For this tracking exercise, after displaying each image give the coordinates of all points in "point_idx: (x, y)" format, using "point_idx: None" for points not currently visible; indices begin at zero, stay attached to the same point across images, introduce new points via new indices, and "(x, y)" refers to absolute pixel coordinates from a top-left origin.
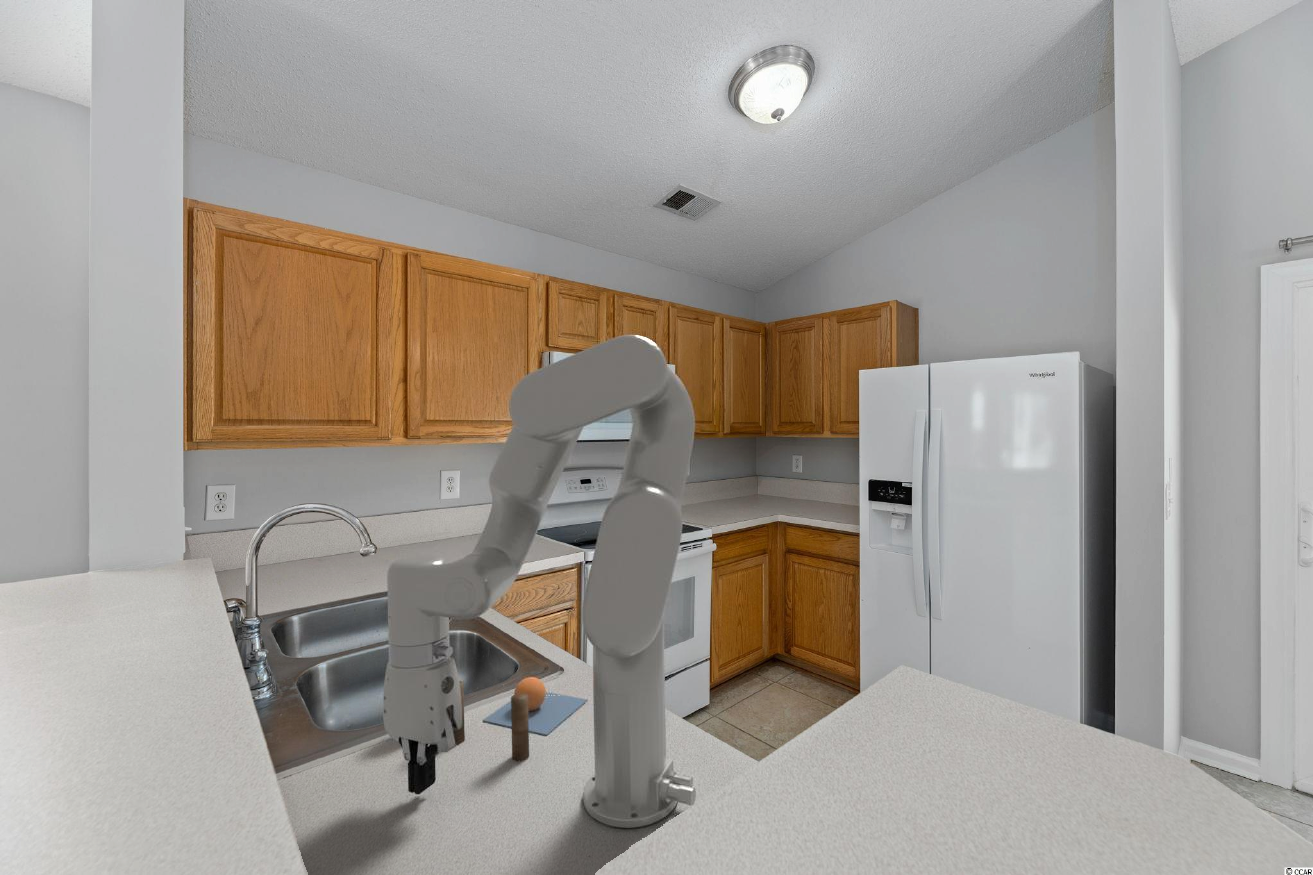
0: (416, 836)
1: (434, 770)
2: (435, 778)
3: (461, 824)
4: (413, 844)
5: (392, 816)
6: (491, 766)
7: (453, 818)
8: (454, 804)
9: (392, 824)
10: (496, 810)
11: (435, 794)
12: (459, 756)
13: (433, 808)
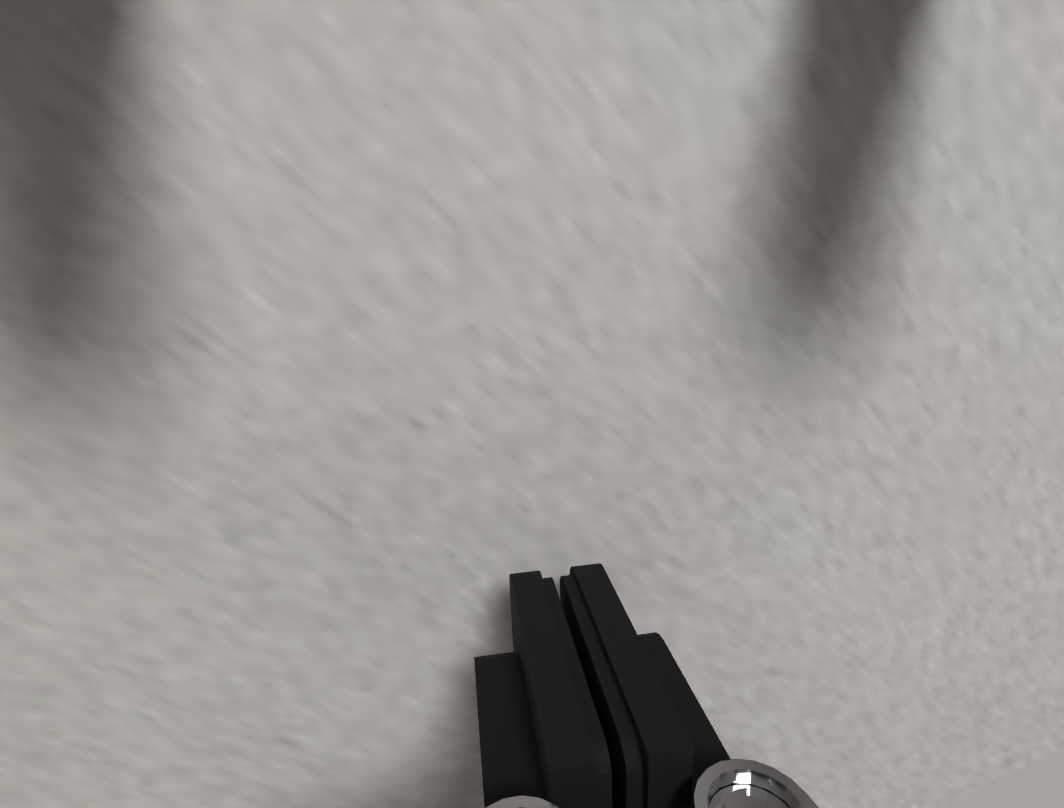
0: None
1: (681, 678)
2: (604, 571)
3: (901, 621)
4: None
5: None
6: (737, 84)
7: (836, 612)
8: (766, 536)
9: None
10: (1018, 464)
11: (587, 527)
12: (354, 62)
13: (676, 613)
